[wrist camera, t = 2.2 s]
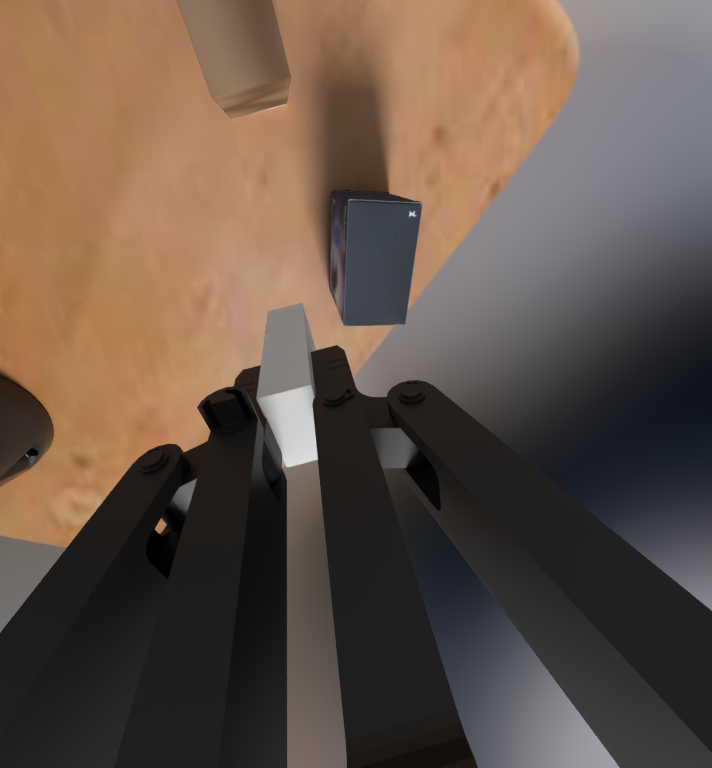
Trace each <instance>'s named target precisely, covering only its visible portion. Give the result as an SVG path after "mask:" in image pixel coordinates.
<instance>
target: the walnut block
mask: <svg viewBox="0 0 712 768" xmlns="http://www.w3.org/2000/svg"><path fill="white" fill-rule="evenodd" d="M177 3H178V6H179V9H180V11H181V14H182V17H183V20H184V23H185V25H186V28H187V31H188V34H189V36H190V39H191V42H192V45H193V48H194V50H195V53H196V56H197V59H198V61H199V64H200V67H201V70H202V72H203V75H204V78H205V81H206V84H207V86H208V89H209V92H210V95H211V97H212V98H213V99H214V101H215V102H216V103H217V104H218V105H219V106H220V107H221V108H222V109H223V110H224V111H225V113H226V114H227V115H228V116H229V117H230V118H231V119H234V118H238V117H242V116H246V115H249V114H253V113H257V112H261V111H264V110H268V109H272V108H276V107H279V106H283V105H287V98H288V91H289V85H290V78H291V75H290V71H289V67H288V63H287V59H286V55H285V51H284V47H283V43H282V39H281V35H280V31H279V27H278V23H277V19H276V15H275V11H274V7H273V3H272V0H177Z"/></svg>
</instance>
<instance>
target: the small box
mask: <svg viewBox="0 0 712 768" xmlns="http://www.w3.org/2000/svg"><path fill="white" fill-rule="evenodd" d="M421 211H422V203H421V202H419V201H413V200H410V199H406V198H403V197H400V196H396V195H392V194H390V193H389V192H380V193H377V192H360V191H351V190H334V191H332V204H331V248H330V292H331V294H332V297H333V299H334V302H335V304H336V306H337V309H338V312H339V314H340V317H341V319H342V322H343V325H345V326H373V325H402V324H403V325H404V324H405V321H406V314H407V309H408V302H409V295H410V288H411V281H412V275H413V267H414V260H415V253H416V246H417V239H418V232H419V225H420V218H421Z"/></svg>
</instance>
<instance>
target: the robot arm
mask: <svg viewBox="0 0 712 768" xmlns="http://www.w3.org/2000/svg"><path fill="white" fill-rule="evenodd" d="M197 408H198V410H199V412H200V413H201V415H202V417H203V418H204V420H205V422H206V424H207V425H208V427H209V429H210V430H211V432H210V435H209V439H208V441H207V442H205V443H203V444H201V445H199V446H197V447H195V448H193V449H191V450H189V451H186V452H183V451H182V449H181V448H180V447H179V446H178V445H176V444H166V445H161V446H158V447H155V448H154V449H151V450H149V451H147V452H146V453H145V454H143V455H142V456H141V457H139V458H138V459H137V460H136V461H135V462H134V463H133V464H132V466H131V467H130V468H129V469H128V471H127V472H126V473H125V475H124V476H123V477H122V478H121V480H120V481H119V482H118V483H117V485H116V486H115V487H114V489H113V490H112V491H111V492H110V494H109V495H108V496H107V497H106V499H105V500H104V501H103V503H102V504H101V505H100V506H99V508H98V509H97V510H96V512H95V513H94V514H93V515H92V517H91V518H90V519H89V520H88V522H87V523H86V524H85V526H84V527H83V528H82V529H81V531H80V532H79V533H78V534H77V536H76V537H75V538H74V540H73V541H72V542H71V543H70V545H69V546H68V547H67V548H66V550H65V551H64V552H63V554H62V555H61V556H60V557H59V559H58V560H57V561H56V563H55V564H54V565H53V566H52V568H51V569H50V570H49V572H48V573H47V574H46V575H45V577H44V578H43V579H42V580H41V582H40V583H39V584H38V586H37V587H36V588H35V589H34V591H33V592H32V593H31V594H30V596H29V597H28V598H27V599H26V601H25V602H24V603H23V605H22V606H21V607H20V609H19V610H18V611H17V612H16V614H15V615H14V616H13V617H12V619H11V620H10V621H9V622H8V624H7V625H6V626H5V628H4V629H3V630H2V631H1V633H0V768H287V480H286V476H285V474H284V471H283V469H282V458H283V460H284V462H285V464H286V467H291V466H295V465H299V464H303V463H306V462H310V461H314V460H318V465H319V476H320V486H321V496H322V505H323V516H324V527H325V536H326V547H327V557H328V567H329V577H330V587H331V597H332V607H333V617H334V626H335V637H336V648H337V657H338V668H339V678H340V688H341V698H342V706H343V707H342V708H343V718H344V727H345V738H346V751H347V768H478V767H477V764H476V762H475V759H474V756H473V753H472V751H471V748H470V746H469V743H468V741H467V738H466V736H465V733H464V730H463V727H462V724H461V722H460V718H459V715H458V712H457V709H456V706H455V702H454V699H453V696H452V693H451V689H450V686H449V683H448V680H447V677H446V673H445V670H444V667H443V664H442V661H441V657H440V654H439V651H438V647H437V644H436V641H435V638H434V635H433V631H432V628H431V625H430V622H429V618H428V615H427V612H426V609H425V605H424V602H423V599H422V596H421V593H420V589H419V586H418V583H417V580H416V576H415V573H414V570H413V567H412V564H411V560H410V557H409V554H408V551H407V547H406V544H405V541H404V538H403V534H402V531H401V528H400V525H399V522H398V518H397V515H396V512H395V508H394V505H393V502H392V499H391V496H390V492H389V489H388V486H387V483H386V479H385V476H384V473H383V470H382V468H399V469H400V471H401V473H402V475H403V476H404V477H405V479H406V480H407V481H408V483H409V484H410V485H411V487H412V488H413V489H414V491H415V492H416V493H417V495H418V496H419V497H420V499H421V500H422V501H423V503H424V504H425V505H426V507H427V508H428V510H429V511H430V512H431V514H432V515H433V516H434V518H435V519H436V520H437V522H438V523H439V524H440V526H441V527H442V528H443V530H444V531H445V533H446V534H447V535H448V536H449V538H450V539H451V541H452V542H453V543H454V545H455V546H456V547H457V549H458V550H459V551H460V553H461V554H462V555H463V557H464V558H465V559H466V561H467V562H468V564H469V565H470V566H471V567H472V569H473V570H474V572H475V573H476V574H477V576H478V577H479V578H480V580H481V581H482V582H483V584H484V585H485V586H486V588H487V589H488V590H489V592H490V593H491V594H492V596H493V597H494V598H495V600H496V601H497V603H498V604H499V605H500V607H501V608H502V609H503V611H504V612H505V613H506V615H507V616H508V617H509V619H510V620H511V621H512V623H513V624H514V625H515V627H516V628H517V629H518V631H519V632H520V634H521V635H522V636H523V638H524V639H525V640H526V642H527V643H528V644H529V646H530V647H531V648H532V650H533V651H534V652H535V654H536V655H537V656H538V658H539V659H540V661H541V662H542V663H543V665H544V666H545V667H546V669H547V670H548V671H549V673H550V674H551V675H552V677H553V678H554V679H555V680H556V682H557V683H558V685H559V686H560V687H561V689H562V690H563V691H564V693H565V694H566V695H567V697H568V698H569V700H570V701H571V702H572V704H573V705H574V706H575V708H576V709H577V710H578V711H579V713H580V714H581V716H582V717H583V718H584V720H585V721H586V722H587V724H588V725H589V727H590V728H591V729H592V730H593V732H594V733H595V735H596V736H597V737H598V739H599V740H600V741H601V743H602V744H603V745H604V747H605V748H606V749H607V751H608V752H609V753H610V755H611V756H612V757H613V759H614V760H615V762H616V763H617V764H618V766H619V767H620V768H712V611H711V610H710V609H709V608H708V607H706V606H705V605H704V604H702V603H701V602H700V601H699V600H698V599H696V598H695V597H694V596H692V595H691V594H690V593H689V592H688V591H687V590H685V589H684V588H683V587H682V586H680V585H679V584H678V583H677V582H675V581H674V580H673V579H672V578H670V577H669V576H668V575H667V574H666V573H664V572H663V571H662V570H661V569H659V568H658V567H657V566H656V565H654V564H653V563H652V562H651V561H649V560H648V559H647V558H646V557H644V556H643V555H642V554H641V553H640V552H638V551H637V550H636V549H635V548H633V547H632V546H631V545H630V544H628V543H627V542H626V541H625V540H623V539H622V538H621V537H620V536H619V535H617V534H616V533H615V532H614V531H612V530H611V529H610V528H609V527H607V526H606V525H605V524H604V523H602V522H601V521H600V520H599V519H598V518H596V517H595V516H594V515H593V514H591V513H590V512H589V511H588V510H586V509H585V508H584V507H583V506H581V505H580V504H579V503H578V502H577V501H575V500H574V499H573V498H572V497H570V496H569V495H568V494H567V493H565V492H564V491H563V490H562V489H560V488H559V487H558V486H557V485H556V484H554V483H553V482H552V481H551V480H549V479H548V478H547V477H546V476H544V475H543V474H542V473H541V472H539V471H538V470H537V469H536V468H534V467H533V466H532V465H531V464H530V463H528V462H527V461H526V460H525V459H523V458H522V457H521V456H520V455H518V454H517V453H516V452H515V451H513V450H512V449H511V448H510V447H509V446H507V445H506V444H505V443H504V442H502V441H501V440H500V439H499V438H497V437H496V436H495V435H494V434H492V433H491V432H490V431H489V430H488V429H486V428H485V427H484V426H482V425H481V424H480V423H479V422H478V421H476V420H475V419H474V418H473V417H471V416H470V415H469V414H468V413H467V412H465V411H464V410H463V409H462V408H460V407H459V406H458V405H457V404H455V403H454V402H453V401H451V400H450V399H449V398H448V397H447V396H445V395H444V394H443V393H442V392H441V391H439V390H438V389H437V388H436V387H434V386H433V385H431V384H429V383H427V382H423V381H419V380H415V381H406V382H402V383H399V384H397V385H396V386H394V387H392V388H391V390H390V391H389V392H388V395H387V397H369V396H366V395H363V394H361V393H360V392H359V391H358V390H357V388H356V387H355V383H354V380H353V377H352V373H351V370H350V367H349V364H348V360H347V357H346V354H345V351H344V350H343V349H342V348H340V347H339V346H337V345H336V346H332V347H328V348H324V349H320V350H316V349H315V345H314V342H313V338H312V335H311V332H310V328H309V325H308V321H307V318H306V314H305V311H304V307H303V304H302V303H301V304H297V305H292V306H288V307H284V308H280V309H276V310H272V311H268V316H267V324H266V331H265V338H264V346H263V353H262V360H261V366H257V367H253V368H249V369H245V370H243V371H242V372H241V373H240V374H239V375H238V377H237V378H236V380H235V384H234V386H233V387H226V388H223V389H220V390H218V391H215V392H214V393H212V394H210V395H208V396H207V397H206V398H205V399H204V400H202V401H201V403H200V404H199V406H198V407H197ZM53 436H54V430H53V425H52V422H51V419H50V417H49V415H48V414H47V412H46V411H45V409H44V408H43V407H42V405H41V404H40V403H39V402H38V401H37V400H36V399H35V398H34V397H32V396H31V395H30V394H29V393H27V392H26V391H25V390H23V389H22V388H20V387H19V386H17V385H15V384H13V383H12V382H10V381H8V380H6V379H4V378H1V377H0V487H1V486H3V485H5V484H6V483H8V482H9V481H11V480H13V479H14V478H16V477H18V476H19V475H21V474H23V473H24V472H26V471H28V470H29V469H30V468H32V467H33V466H34V465H35V464H36V463H37V462H38V461H39V460H40V459H41V458H42V456H43V455H44V454H45V453H46V452H47V450H48V449H49V448H50V446H51V444H52V441H53ZM161 518H162V519H163V521H164V522H165V523H166V524H167V525H166V527H165V529H164V530H163V531H162V532H161V534H159V533H157V531H156V530H155V527H156V526H157V524H158V522H159V521H160V519H161Z"/></svg>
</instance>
